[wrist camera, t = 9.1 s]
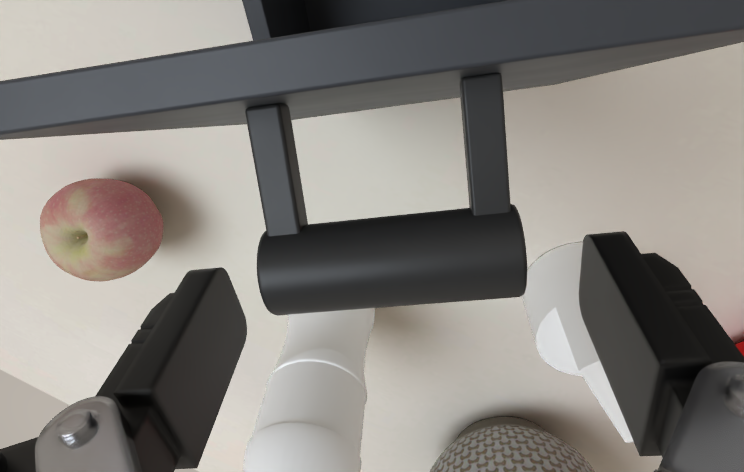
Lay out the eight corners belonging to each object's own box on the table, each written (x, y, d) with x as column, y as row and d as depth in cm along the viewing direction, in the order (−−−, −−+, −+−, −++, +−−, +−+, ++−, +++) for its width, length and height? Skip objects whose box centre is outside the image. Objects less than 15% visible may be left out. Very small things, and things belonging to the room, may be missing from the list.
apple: (184, 176, 39) (137, 231, 32) (175, 251, 43) (132, 313, 36) (81, 145, 38) (11, 194, 31) (82, 224, 42) (20, 283, 36)
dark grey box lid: (-82, 93, 8) (10, 377, 9) (909, -66, 6) (867, 323, 7) (268, 106, 25) (285, 204, 26) (554, 66, 23) (559, 174, 24)
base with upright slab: (503, 271, 42) (531, 384, 32) (608, 223, 39) (677, 332, 29) (547, 337, 46) (585, 457, 36) (646, 299, 43) (718, 418, 33)
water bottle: (284, 265, 43) (167, 596, 22) (363, 249, 42) (316, 588, 21) (312, 324, 47) (234, 656, 26) (386, 311, 45) (364, 653, 25)
